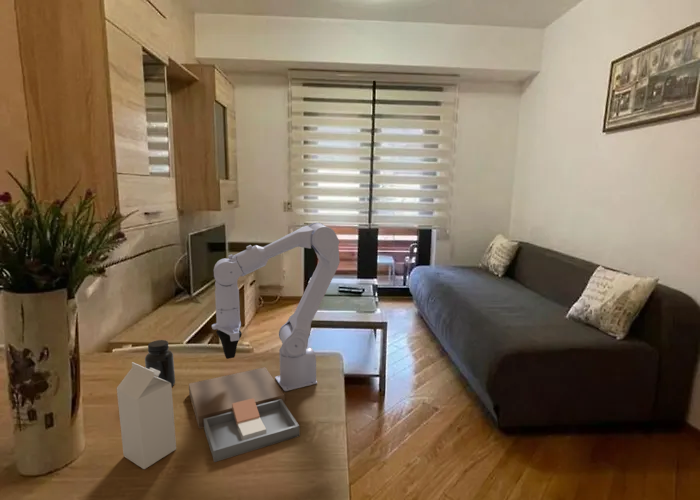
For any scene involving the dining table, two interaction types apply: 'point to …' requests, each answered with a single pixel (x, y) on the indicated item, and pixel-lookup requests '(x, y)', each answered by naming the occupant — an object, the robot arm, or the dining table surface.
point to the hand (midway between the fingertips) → (230, 357)
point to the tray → (230, 443)
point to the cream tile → (251, 428)
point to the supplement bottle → (161, 360)
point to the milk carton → (146, 416)
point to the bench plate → (232, 392)
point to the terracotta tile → (245, 410)
